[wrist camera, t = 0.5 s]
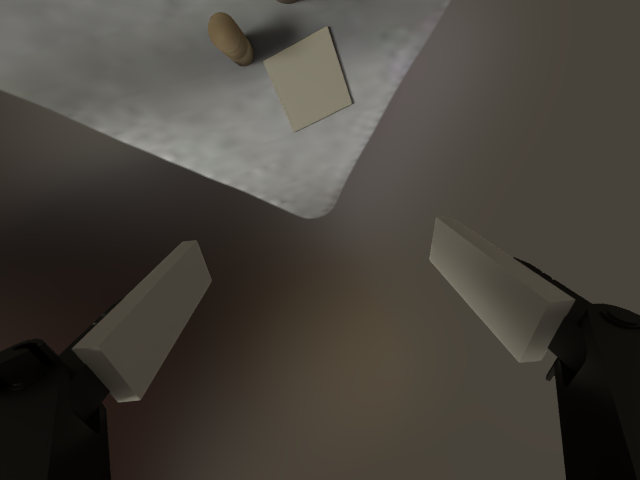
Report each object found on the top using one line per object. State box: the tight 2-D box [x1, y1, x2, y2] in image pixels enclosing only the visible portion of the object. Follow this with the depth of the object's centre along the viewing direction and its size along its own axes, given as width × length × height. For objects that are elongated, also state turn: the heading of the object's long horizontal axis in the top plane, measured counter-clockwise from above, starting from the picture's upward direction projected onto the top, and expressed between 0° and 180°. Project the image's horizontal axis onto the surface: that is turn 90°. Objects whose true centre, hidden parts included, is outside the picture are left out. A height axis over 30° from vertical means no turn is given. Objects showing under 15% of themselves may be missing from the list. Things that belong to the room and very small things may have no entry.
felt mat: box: [263, 26, 352, 132], centre depth 31 cm, size 9×9×1 cm
